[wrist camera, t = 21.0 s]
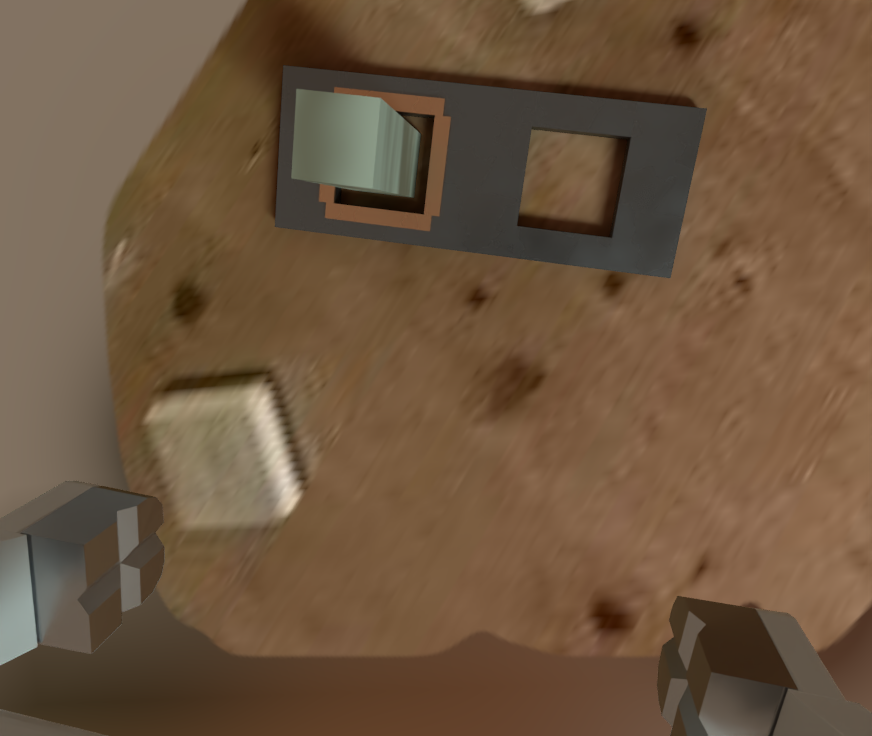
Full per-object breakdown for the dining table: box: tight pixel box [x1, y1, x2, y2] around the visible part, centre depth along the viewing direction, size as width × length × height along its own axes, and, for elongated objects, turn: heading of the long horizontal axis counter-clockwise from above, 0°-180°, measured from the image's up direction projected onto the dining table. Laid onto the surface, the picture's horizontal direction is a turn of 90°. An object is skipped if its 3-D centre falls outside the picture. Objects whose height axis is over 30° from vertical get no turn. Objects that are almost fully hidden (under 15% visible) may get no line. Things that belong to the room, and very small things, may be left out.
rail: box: [275, 65, 707, 278], centre depth 39 cm, size 26×10×2 cm, turn 83°
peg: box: [291, 89, 421, 198], centre depth 34 cm, size 4×4×12 cm
